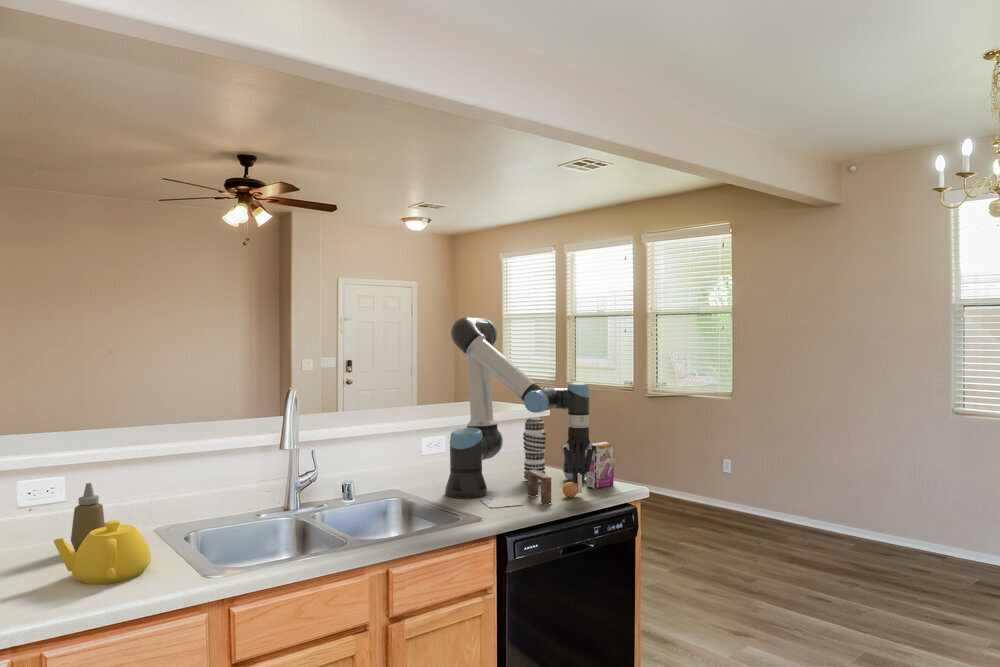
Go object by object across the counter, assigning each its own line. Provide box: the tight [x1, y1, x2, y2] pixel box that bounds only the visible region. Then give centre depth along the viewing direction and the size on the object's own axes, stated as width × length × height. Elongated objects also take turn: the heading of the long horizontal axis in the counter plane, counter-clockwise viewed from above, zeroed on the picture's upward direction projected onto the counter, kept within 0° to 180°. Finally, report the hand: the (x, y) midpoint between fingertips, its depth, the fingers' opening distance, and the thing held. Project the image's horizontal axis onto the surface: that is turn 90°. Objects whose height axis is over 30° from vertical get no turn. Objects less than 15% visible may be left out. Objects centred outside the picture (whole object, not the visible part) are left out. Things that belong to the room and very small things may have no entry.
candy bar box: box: [585, 441, 615, 490], centre depth 257 cm, size 11×5×16 cm, turn 132°
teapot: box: [53, 519, 152, 586], centre depth 159 cm, size 20×19×13 cm
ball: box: [561, 481, 579, 499], centre depth 239 cm, size 6×6×6 cm
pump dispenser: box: [562, 447, 587, 482], centre depth 269 cm, size 10×10×15 cm
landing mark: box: [480, 498, 501, 507], centre depth 231 cm, size 12×12×1 cm
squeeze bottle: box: [70, 482, 105, 552], centre depth 179 cm, size 8×8×18 cm
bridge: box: [527, 470, 552, 505], centre depth 235 cm, size 3×14×9 cm, turn 18°
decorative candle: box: [522, 416, 547, 482], centre depth 268 cm, size 9×9×25 cm
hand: (578, 492), depth 240 cm, fingers closed
